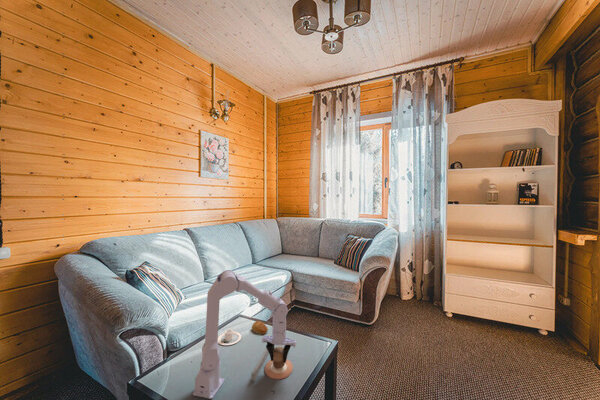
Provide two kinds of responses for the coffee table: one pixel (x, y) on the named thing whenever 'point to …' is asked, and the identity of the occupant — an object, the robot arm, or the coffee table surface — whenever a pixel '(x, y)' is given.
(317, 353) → the coffee table surface
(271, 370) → the resting plate
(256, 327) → the pastry
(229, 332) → the candle holder
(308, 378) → the coffee table surface
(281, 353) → the walnut cylinder
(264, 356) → the acrylic wall
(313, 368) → the coffee table surface
